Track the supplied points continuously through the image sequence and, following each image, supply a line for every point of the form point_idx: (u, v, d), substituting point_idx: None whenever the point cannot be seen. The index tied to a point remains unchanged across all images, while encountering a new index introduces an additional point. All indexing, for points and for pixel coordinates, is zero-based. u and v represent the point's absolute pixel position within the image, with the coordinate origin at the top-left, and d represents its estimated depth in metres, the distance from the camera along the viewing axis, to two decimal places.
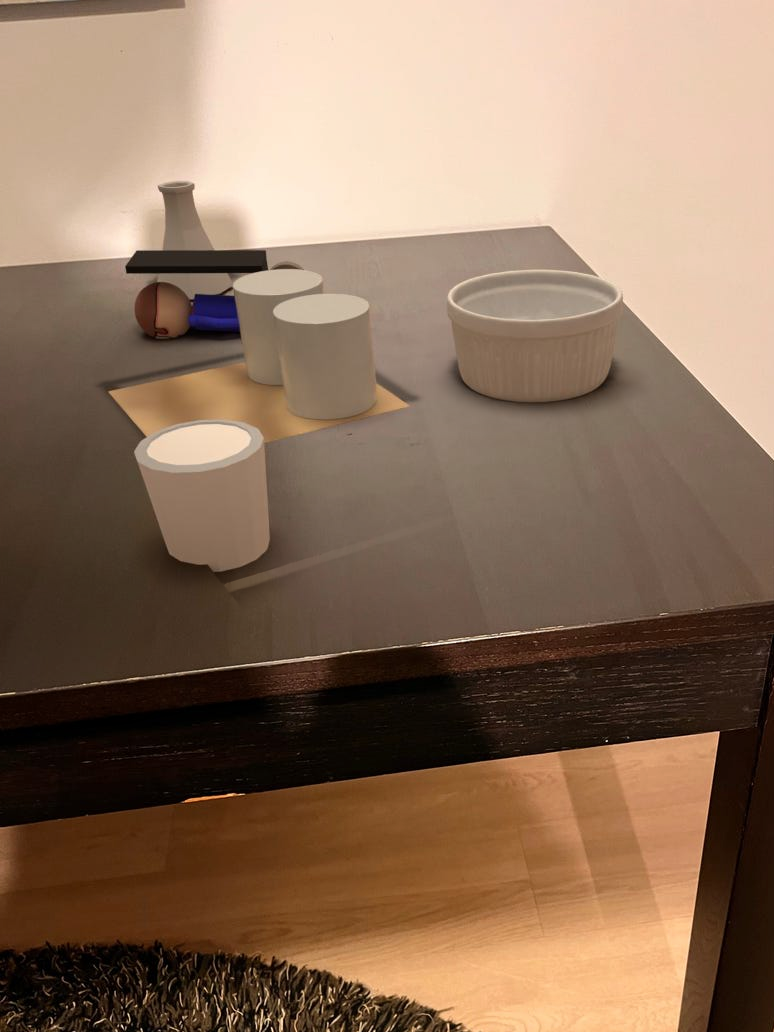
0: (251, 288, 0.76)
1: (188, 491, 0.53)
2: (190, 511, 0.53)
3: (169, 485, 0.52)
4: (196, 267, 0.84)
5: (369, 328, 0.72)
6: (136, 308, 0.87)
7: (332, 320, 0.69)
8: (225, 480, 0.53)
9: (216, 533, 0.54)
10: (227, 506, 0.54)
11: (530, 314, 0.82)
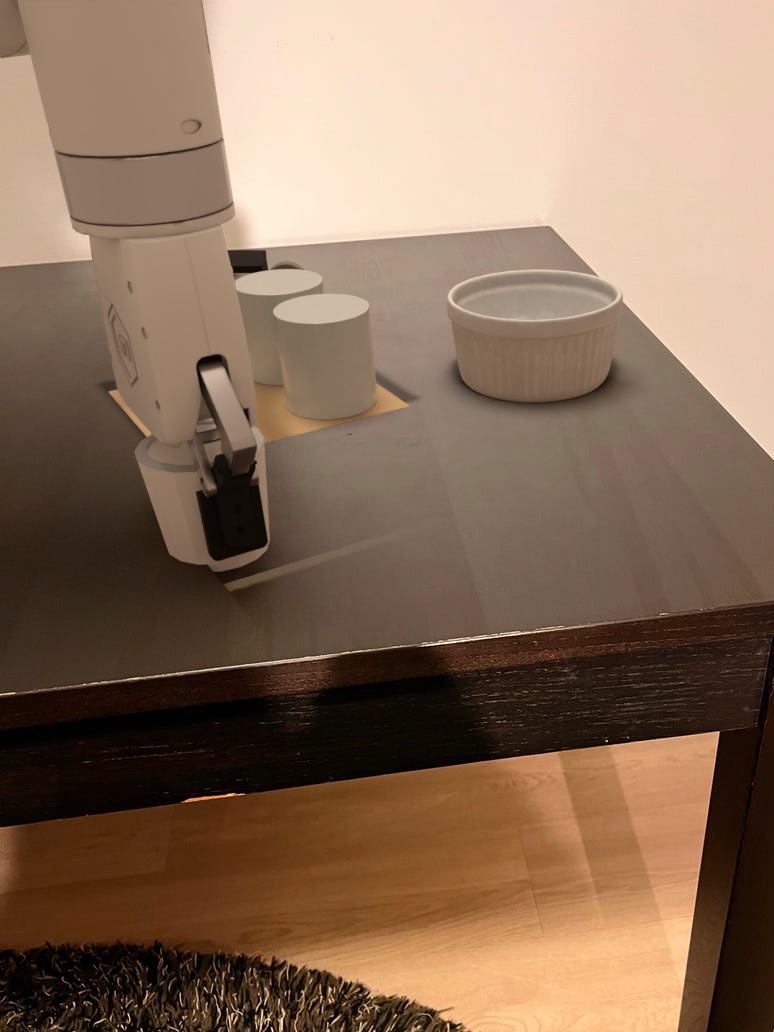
0: (251, 288, 0.76)
1: (188, 491, 0.53)
2: (190, 511, 0.53)
3: (169, 485, 0.52)
4: None
5: (369, 328, 0.72)
6: None
7: (332, 320, 0.69)
8: None
9: None
10: None
11: (530, 314, 0.82)
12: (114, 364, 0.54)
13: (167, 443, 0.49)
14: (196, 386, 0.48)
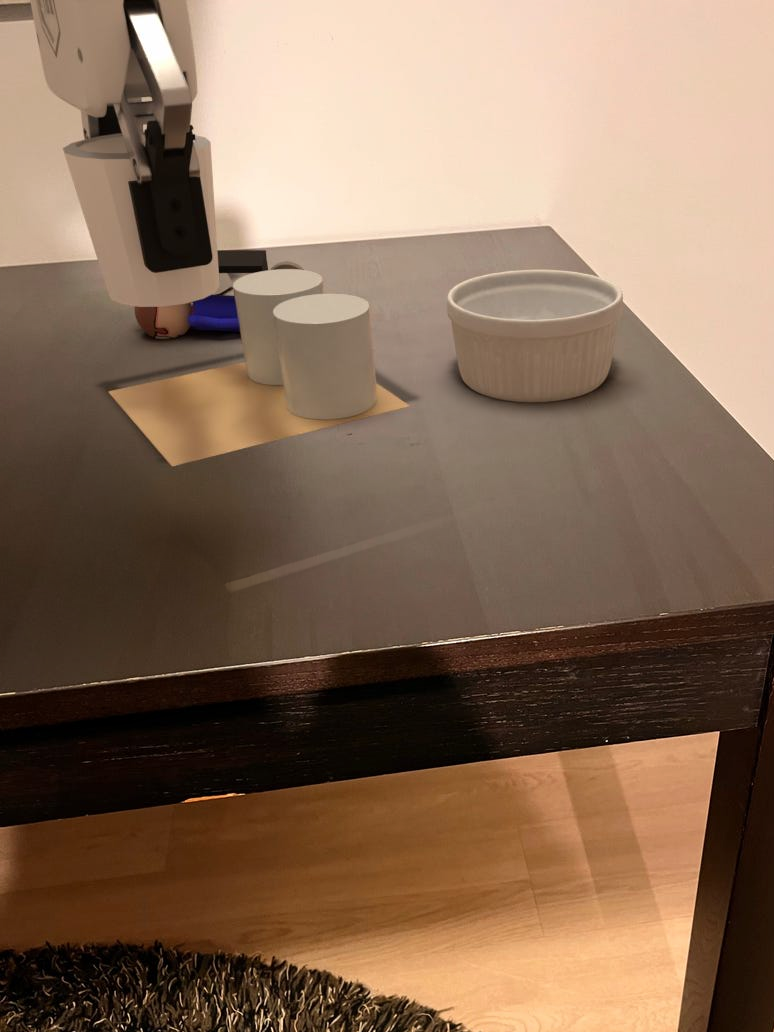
0: (251, 288, 0.76)
1: (121, 185, 0.47)
2: (124, 213, 0.47)
3: (100, 177, 0.46)
4: None
5: (369, 328, 0.72)
6: (136, 308, 0.87)
7: (332, 320, 0.69)
8: None
9: None
10: None
11: (530, 314, 0.82)
12: (41, 45, 0.47)
13: (92, 106, 0.43)
14: (123, 30, 0.42)
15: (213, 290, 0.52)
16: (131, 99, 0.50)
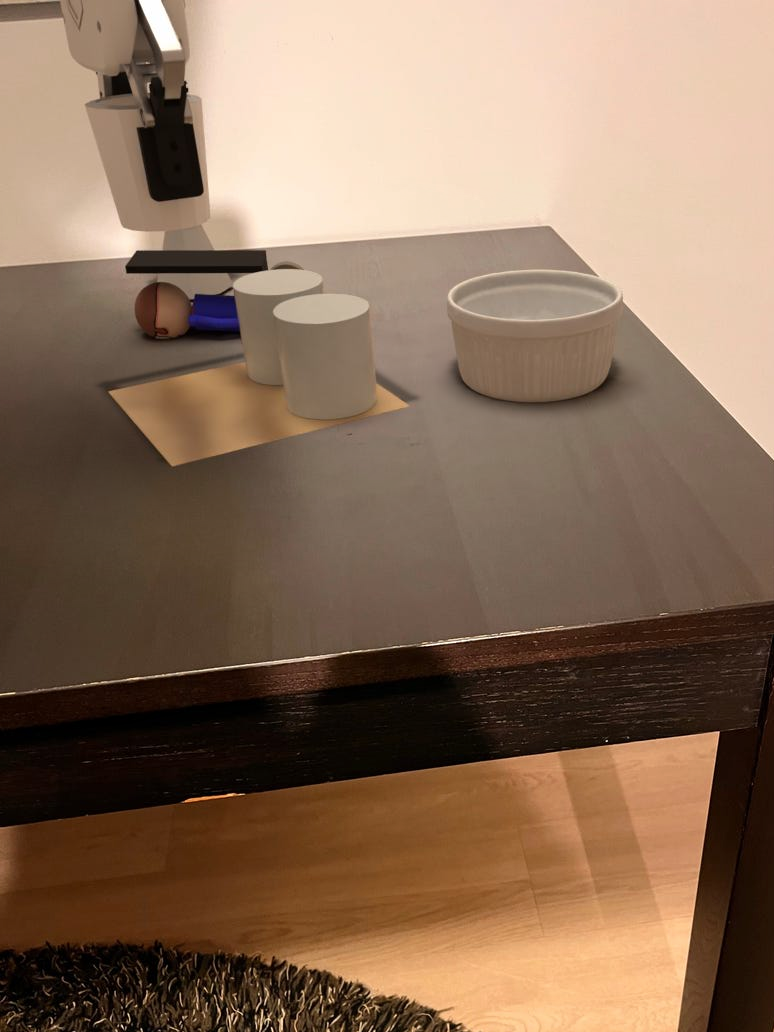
0: (251, 288, 0.76)
1: (131, 131, 0.59)
2: (133, 153, 0.60)
3: (114, 125, 0.59)
4: (196, 267, 0.84)
5: (369, 328, 0.72)
6: (136, 308, 0.87)
7: (332, 320, 0.69)
8: None
9: None
10: None
11: (530, 314, 0.82)
12: (66, 23, 0.60)
13: (108, 66, 0.56)
14: (132, 6, 0.54)
15: (205, 220, 0.64)
16: None
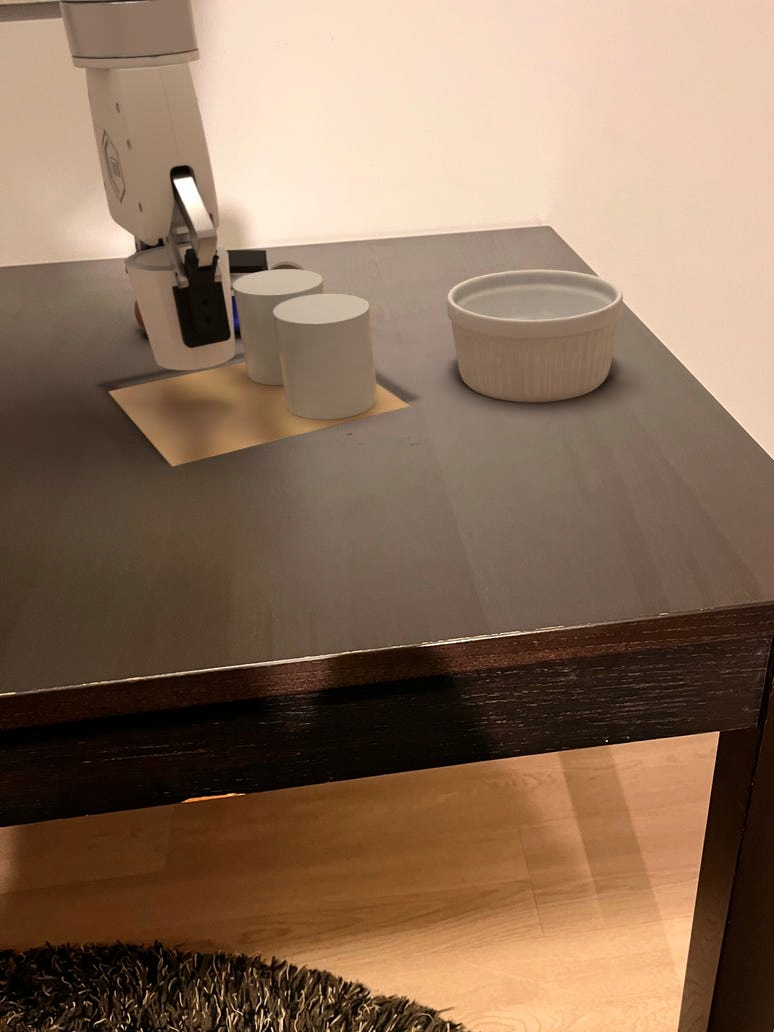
0: (251, 288, 0.76)
1: (166, 288, 0.66)
2: (169, 306, 0.67)
3: (152, 283, 0.66)
4: None
5: (369, 328, 0.72)
6: (136, 308, 0.87)
7: (332, 320, 0.69)
8: None
9: None
10: None
11: (530, 314, 0.82)
12: (107, 191, 0.67)
13: (148, 239, 0.63)
14: (170, 190, 0.61)
15: (231, 356, 0.72)
16: None
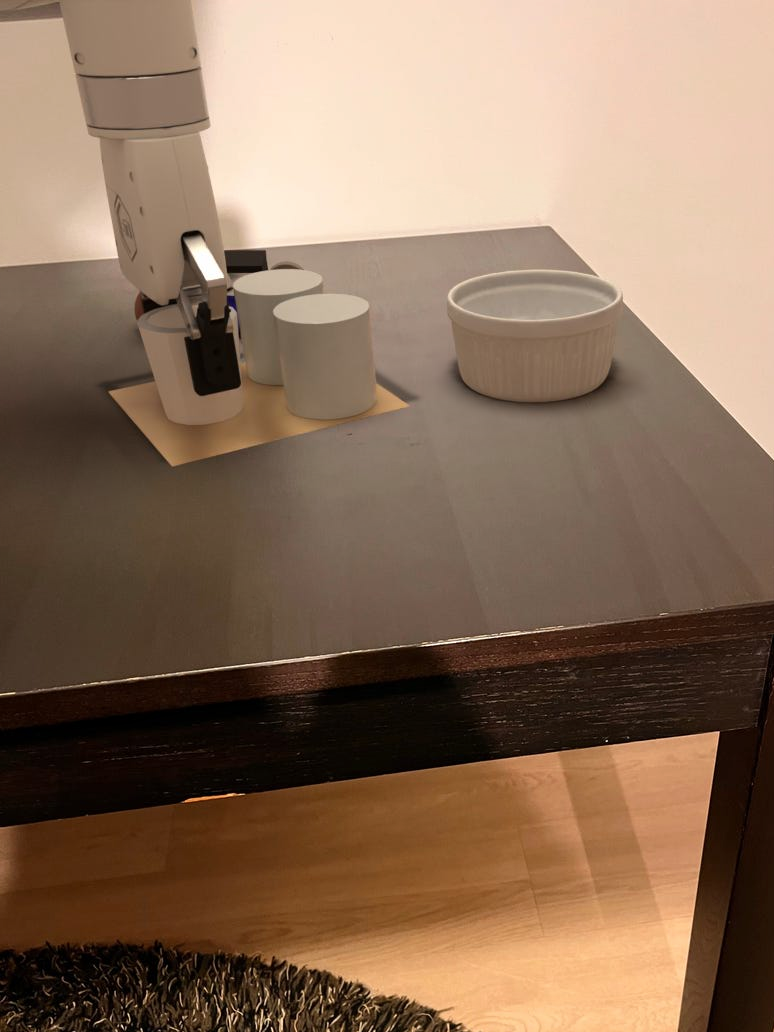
0: (251, 288, 0.76)
1: (177, 348, 0.69)
2: (179, 366, 0.69)
3: (163, 344, 0.69)
4: None
5: (369, 328, 0.72)
6: (136, 308, 0.87)
7: (332, 320, 0.69)
8: None
9: None
10: None
11: (530, 314, 0.82)
12: (118, 248, 0.69)
13: (159, 300, 0.65)
14: (180, 254, 0.64)
15: (239, 410, 0.74)
16: None
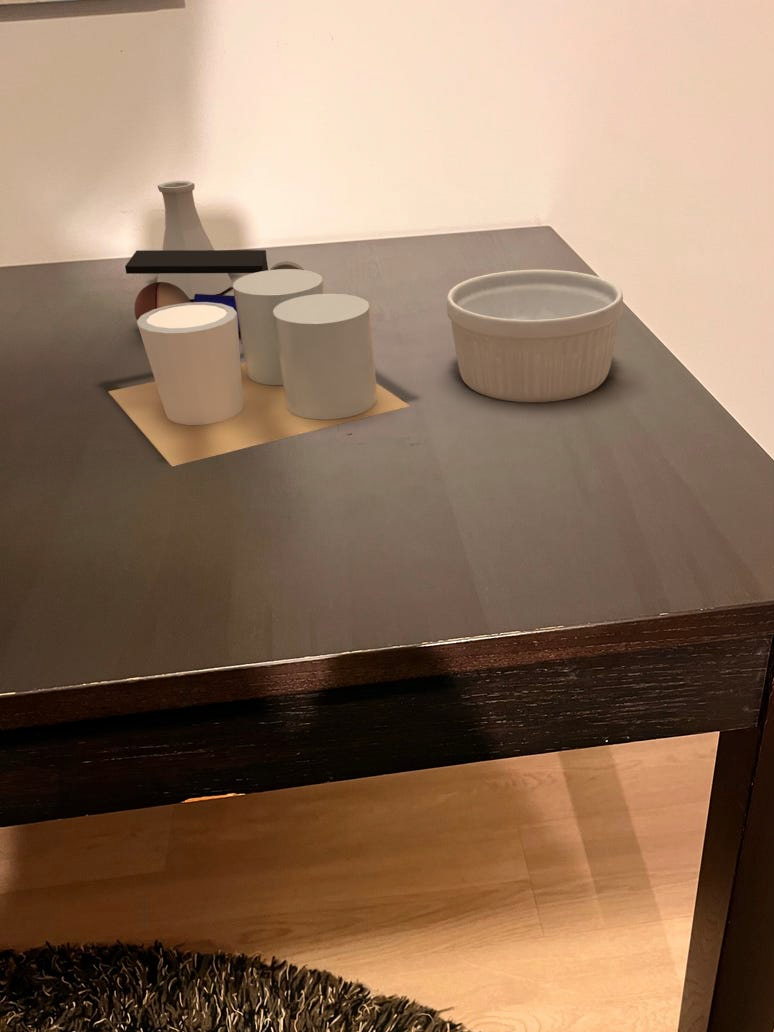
0: (251, 288, 0.76)
1: (177, 348, 0.69)
2: (179, 366, 0.69)
3: (163, 344, 0.69)
4: (196, 267, 0.84)
5: (369, 328, 0.72)
6: (136, 308, 0.87)
7: (332, 320, 0.69)
8: (206, 341, 0.69)
9: (200, 385, 0.71)
10: (208, 362, 0.70)
11: (530, 314, 0.82)
12: None
13: None
14: None
15: (239, 410, 0.74)
16: None
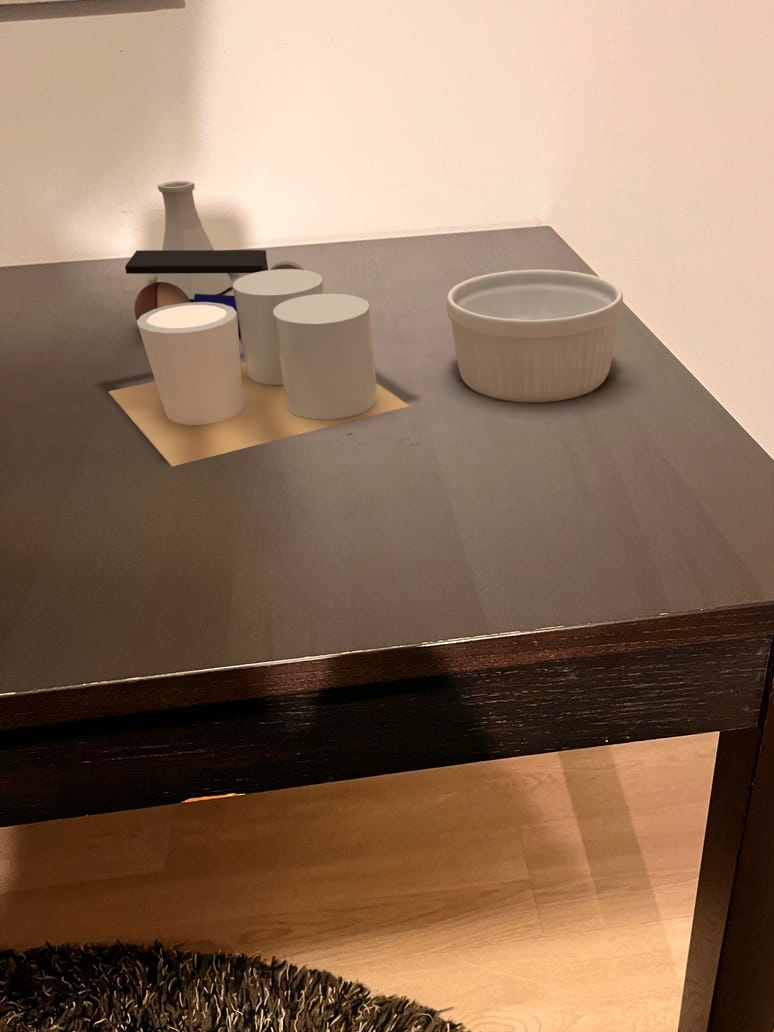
0: (251, 288, 0.76)
1: (177, 348, 0.69)
2: (179, 366, 0.69)
3: (163, 344, 0.69)
4: (196, 267, 0.84)
5: (369, 328, 0.72)
6: (136, 308, 0.87)
7: (332, 320, 0.69)
8: (206, 341, 0.69)
9: (200, 385, 0.71)
10: (208, 362, 0.70)
11: (530, 314, 0.82)
12: None
13: None
14: None
15: (239, 410, 0.74)
16: None
